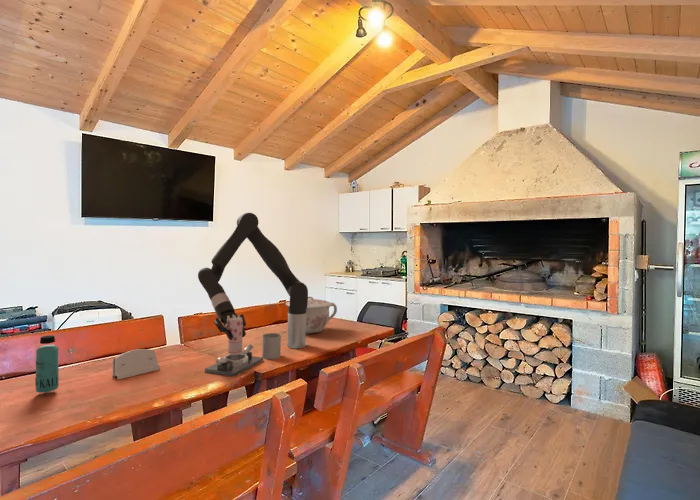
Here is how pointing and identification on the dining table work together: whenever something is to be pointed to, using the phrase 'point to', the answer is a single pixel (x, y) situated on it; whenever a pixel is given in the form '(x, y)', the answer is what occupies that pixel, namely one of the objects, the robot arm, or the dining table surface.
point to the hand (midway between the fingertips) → (238, 337)
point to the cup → (271, 346)
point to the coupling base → (234, 369)
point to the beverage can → (235, 336)
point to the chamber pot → (317, 314)
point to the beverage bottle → (46, 366)
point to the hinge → (135, 363)
